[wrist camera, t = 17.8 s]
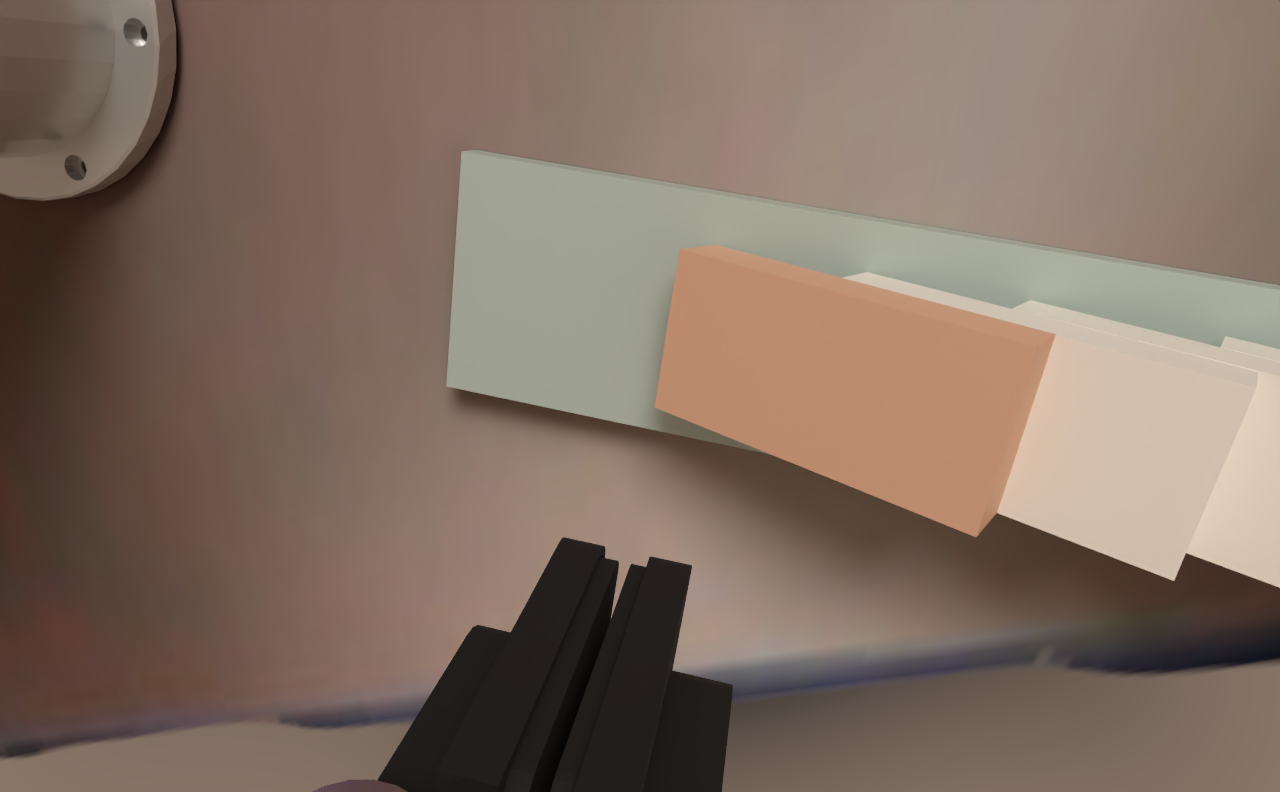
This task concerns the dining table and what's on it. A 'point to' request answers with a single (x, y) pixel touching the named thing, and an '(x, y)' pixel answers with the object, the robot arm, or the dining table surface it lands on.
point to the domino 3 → (1253, 471)
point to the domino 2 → (1115, 437)
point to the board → (790, 233)
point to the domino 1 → (852, 380)
